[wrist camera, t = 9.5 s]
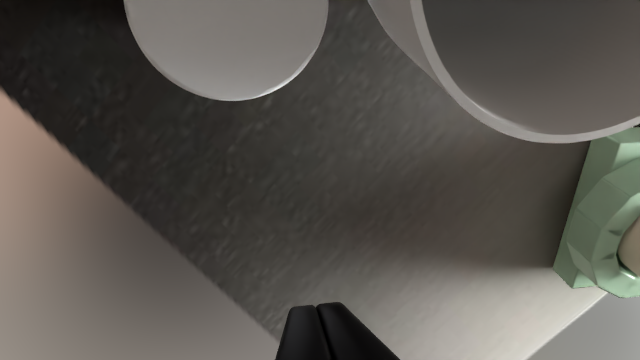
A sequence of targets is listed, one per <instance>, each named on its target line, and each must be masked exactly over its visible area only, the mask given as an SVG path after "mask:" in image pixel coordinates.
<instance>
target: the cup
mask: <svg viewBox="0 0 640 360" xmlns="http://www.w3.org/2000/svg"><path fill="white" fill-rule="evenodd" d="M367 1H368V2H369V4H370V6H371V8H372V9H373V11H374V13H375V15H376V16H377V18H378V20H379V22H380V23H381V25H382V27H383V28H384V30H385V31H386V33H387V34H388V35H389V37H390V38H391V39H392V40H393V41H394V43H395V44H396V45H397V46H398V47H399V48H400V49H401V50H402V51H403V52H404V53H405V54H406V55H408V56H409V57H410V58H411V59H412V60H413V61H414V62H415V63H416V64H417V65H418V66H419V67H420V68H421V69H422V70H423V71H424V72H426V73H427V74H428V75H429V76H430V77H431V78H432V79H433V80H434V81H435V82H436V83H437V84H438V85H439V86H440V87H441V88H443V89H444V90H445V91H446V92H447V93H448V94H449V95H450V96H451V97H452V98H453V99H454V100H455V101H456V102H457V103H458V104H459V105H461V106H462V107H463V108H464V109H465V110H466V111H467V112H468V113H470V114H471V115H472V116H474V117H475V118H476V119H478V120H479V121H481V122H482V123H484V124H486V125H487V126H489V127H491V128H493V129H495V130H497V131H499V132H501V133H504V134H507V135H509V136H512V137H515V138H519V139H523V140H527V141H533V142H540V143H575V142H582V141H588V140H593V139H597V138H601V137H605V136H609V135H612V134H615V133H618V132H621V131H623V130H626V129H628V128H631V127H633V126H635V125H637V124H640V0H367Z"/></svg>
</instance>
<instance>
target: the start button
mask: <svg viewBox="0 0 640 360" xmlns="http://www.w3.org/2000/svg"><path fill="white" fill-rule="evenodd" d="M618 255H619V258H620V260H621V261H622V263H623V264H624V265H625V266H627V267H628V268H629V269H630V270H631V271H633V272H634V273H635V274H636V275H637V276H639V277H640V216H639V217H638V218H637V219H636V220H635V221H634V222H633V223H632V224H631V225H630V227H629V228H628V229H627V230H626V231H625V232H624V233H623V235H622V238H621V240H620V243H619V246H618Z"/></svg>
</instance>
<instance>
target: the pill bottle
mask: <svg viewBox="0 0 640 360" xmlns="http://www.w3.org/2000/svg"><path fill="white" fill-rule="evenodd" d="M124 6H125V12H126V16H127V19H128V23H129V26H130V28H131V31H132V33H133V35H134V37H135V40H136V41H137V43H138V45H139V47H140V49H141V50H142V52H143V53H144V55H145V56H146V57H147V59H148V60H149V61H150V62H151V63H152V65H153V66H154V67H155V68H156V69H157V70H158V71H159V72H161V73H162V74H163V75H164V76H165V77H166V78H168V79H169V80H170V81H172V82H173V83H175V84H176V85H178V86H180V87H181V88H183V89H185V90H187V91H190V92H192V93H194V94H197V95H199V96H203V97H207V98H211V99H216V100H225V101H241V100H247V99H253V98H257V97H260V96H263V95H266V94H268V93H271V92H273V91H275V90H277V89H279V88H280V87H282V86H284V85H285V84H287V83H288V82H289V81H291V80H292V79H293V78H295V77H296V76H297V75H298V74H299V73H300V72H301V71H302V70H303V69H304V67H305V66H306V65H307V64H308V62H309V61H310V59H311V58H312V57H313V55H314V53H315V51H316V49H317V48H318V46H319V44H320V41H321V38H322V36H323V33H324V29H325V25H326V21H327V14H328V0H124Z"/></svg>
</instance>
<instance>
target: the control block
mask: <svg viewBox="0 0 640 360" xmlns="http://www.w3.org/2000/svg"><path fill="white" fill-rule="evenodd" d="M639 216H640V127H638V128H628V129H626V130H623V131H621V132H618V133H615V134H612V135H609V136H605V137H601V138H597V139H593V140H591V143H590V146H589V150H588V153H587V156H586V160H585V163H584V166H583V170H582V173H581V176H580V179H579V183H578V186H577V189H576V193H575V196H574V199H573V203H572V206H571V209H570V212H569V216H568V219H567V222H566V226H565V229H564V232H563V235H562V239H561V242H560V245H559V249H558V252H557V255H556V259H555V262H554V265H553V270H554V271H555V272H556V273H557V274H558V275H559V276H560V277H561V278H562V279H563V280H564V281H565V282H566V283H567V284H568V285H569V286H570V287H571V288H581V287H590V286H597V287H599V288H601V289H603V290H605V291H607V292H609V293H611V294H613V295H615V296H617V297H619V298H627V297H636V296H640V277H639V276H637V275H636V274H635V273H634V272H633V271H631V270H630V269H629V268H628V267H627V266H625V265H624V264H623V263H622V261H621V260H620V258H619V255H618V246H619V243H620V240H621V238H622V235H623V233H624V232H625V231H626V230H627V229H628V228H629V227H630V225H631V224H632V223H633V222H634V221H635V220H636V219H637V218H638V217H639Z"/></svg>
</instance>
